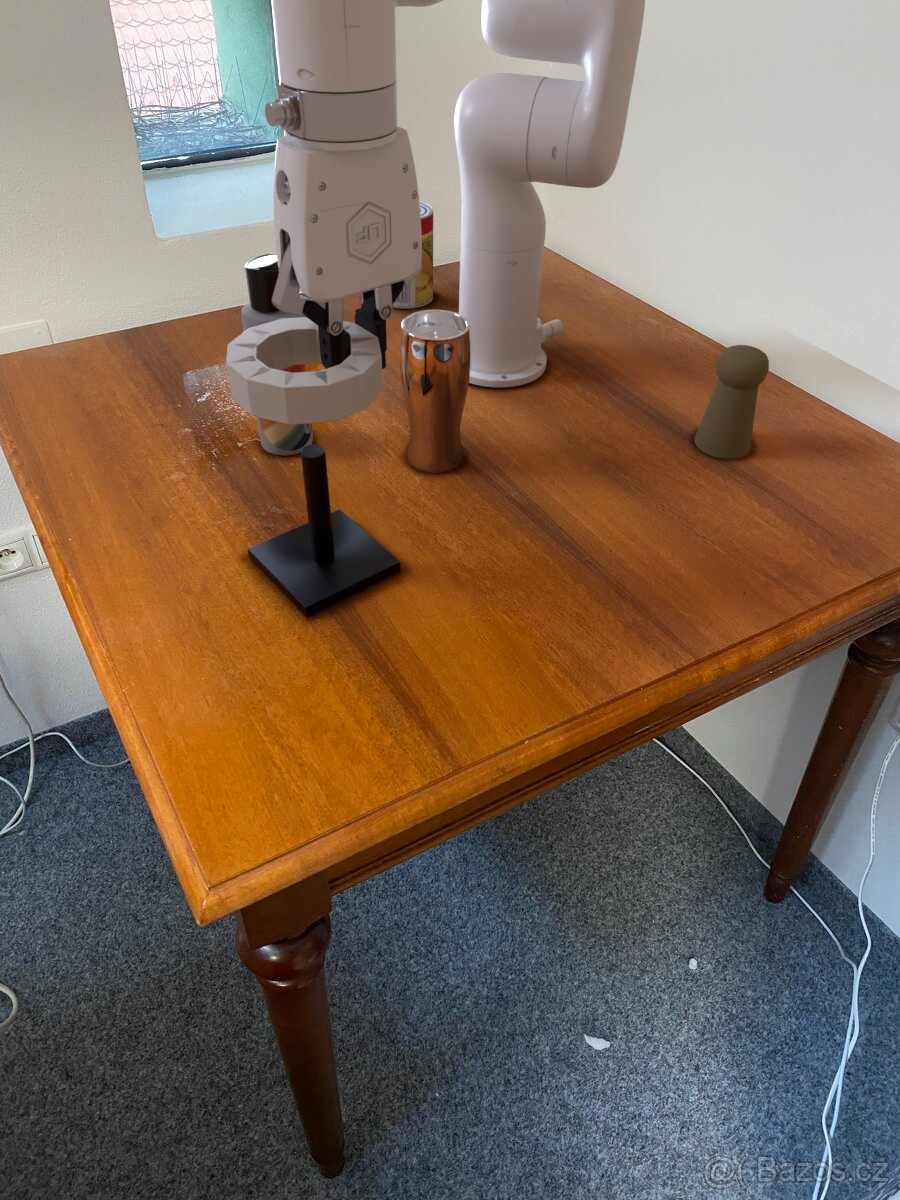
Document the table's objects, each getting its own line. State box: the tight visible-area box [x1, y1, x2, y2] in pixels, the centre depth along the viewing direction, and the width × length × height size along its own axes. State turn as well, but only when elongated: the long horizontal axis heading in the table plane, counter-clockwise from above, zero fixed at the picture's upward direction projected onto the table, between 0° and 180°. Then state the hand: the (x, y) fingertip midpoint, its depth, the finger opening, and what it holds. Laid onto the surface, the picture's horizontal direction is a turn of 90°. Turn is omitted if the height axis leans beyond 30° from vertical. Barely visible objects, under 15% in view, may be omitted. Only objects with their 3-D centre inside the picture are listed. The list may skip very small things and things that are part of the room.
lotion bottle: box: [241, 253, 314, 457], centre depth 88 cm, size 6×6×20 cm
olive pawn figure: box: [694, 344, 770, 460], centre depth 93 cm, size 6×6×11 cm
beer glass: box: [399, 309, 471, 474], centre depth 88 cm, size 7×7×15 cm
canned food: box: [393, 200, 434, 310], centre depth 120 cm, size 8×8×12 cm
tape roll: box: [225, 316, 384, 425], centre depth 67 cm, size 11×11×3 cm
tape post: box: [247, 444, 402, 618], centre depth 76 cm, size 10×10×12 cm
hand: (355, 367), depth 70 cm, fingers closed on tape roll, 2 cm apart
